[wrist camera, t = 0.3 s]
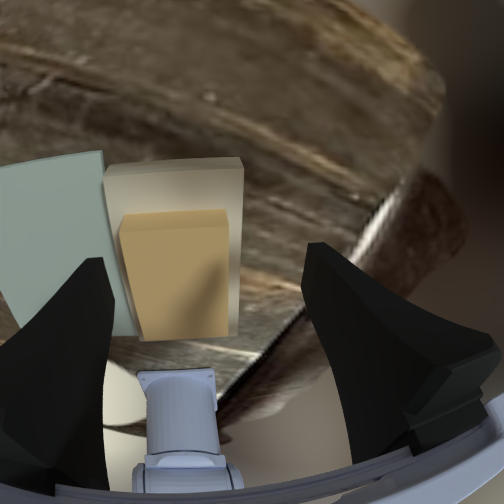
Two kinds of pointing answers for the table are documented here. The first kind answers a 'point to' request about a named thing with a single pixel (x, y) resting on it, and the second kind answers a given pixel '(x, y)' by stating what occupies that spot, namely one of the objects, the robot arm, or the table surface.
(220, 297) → the tan rectangular block
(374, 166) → the table surface
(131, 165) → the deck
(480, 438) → the robot arm
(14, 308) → the mat
